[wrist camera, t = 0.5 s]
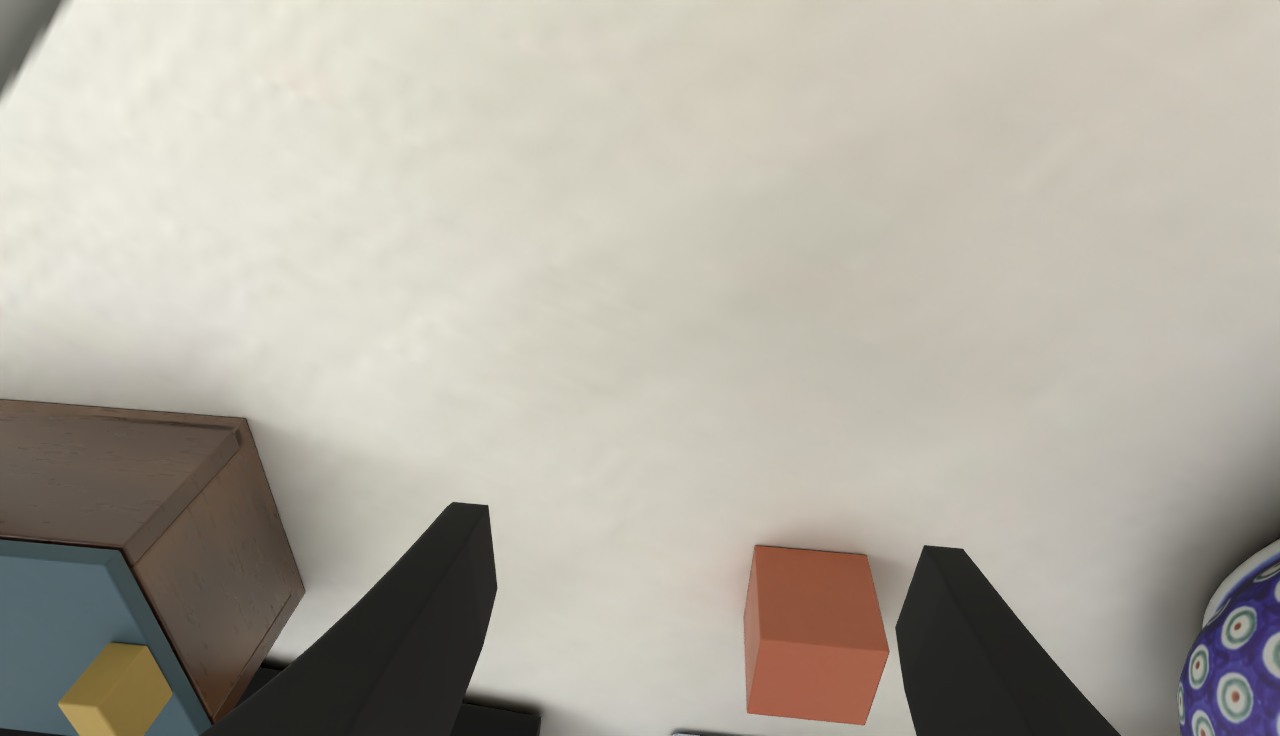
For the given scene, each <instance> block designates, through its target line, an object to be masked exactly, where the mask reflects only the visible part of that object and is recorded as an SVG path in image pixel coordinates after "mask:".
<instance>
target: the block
mask: <svg viewBox="0 0 1280 736" xmlns="http://www.w3.org/2000/svg"><path fill="white" fill-rule="evenodd" d="M744 645H745V673H746V701H747V713H749V714H759V715H769V716H779V717H788V718H798V719H808V720H818V721H827V722H837V723H847V724H857V725H865V723H866V720H867V717H868V714H869V711H870V708H871V705H872V702H873V699H874V696H875V693H876V690H877V687H878V684H879V681H880V679H881V676H882V673H883V670H884V667H885V664H886V661H887V658H888V655H889V647H888V643H887V639H886V635H885V630H884V626H883V622H882V618H881V613H880V609H879V605H878V600H877V596H876V592H875V588H874V583H873V579H872V575H871V571H870V566H869V562H868V558H867V556H866V555H857V554H846V553H834V552H823V551H811V550H799V549H788V548H776V547H765V546H755V548H754V554H753V560H752V567H751V573H750V580H749V586H748V592H747V599H746V605H745V612H744Z"/></svg>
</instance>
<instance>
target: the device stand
mask: <svg viewBox="0 0 1280 736" xmlns="http://www.w3.org/2000/svg"><path fill="white" fill-rule="evenodd" d="M280 672H282V671H279V670H273V669H268V668H262V667H259V668H258V670H257V671H256V673H255V675H254V676H253V678H252V680H251V681H250V683H249V684H248V686H247V688H246V689H245V691H244V692H243V694H242V696H241V697H240V699H239V701H238V702H237V704H236V705H235V707H234V709H235V708H236V707H238V706H239V705H240V704H241V703H243V702H244V701H245V700H247V699H248V698H249V697H251V696H252V695H253V694H254V693H256V692H257V691H258V690H259V689H261V688H262V687H263V686H264V685H266V684H267V683H268V682H269V681H271V680H272V679H273V678H274V677H275V676H277V675H278V674H279V673H280ZM234 709H233V710H234ZM540 725H541V717H539V716H533V715H527V714H522V713H516V712H510V711H505V710H499V709H494V708H488V707H482V706H477V705H471V704H465V703H462V704H461V706H460V709H459V712H458V714H457V717H456V720H455V722H454V725H453V727H452V730H451V733H450V735H449V736H539V733H540ZM0 736H68V735H59V734H50V733H41V732H32V731H23V730H14V729H5V728H0Z"/></svg>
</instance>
